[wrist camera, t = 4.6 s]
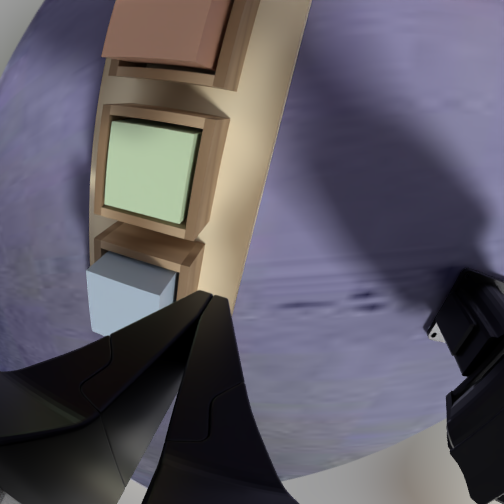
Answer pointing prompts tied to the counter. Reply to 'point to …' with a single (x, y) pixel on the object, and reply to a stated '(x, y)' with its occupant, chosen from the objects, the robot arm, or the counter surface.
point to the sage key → (152, 167)
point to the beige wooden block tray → (203, 146)
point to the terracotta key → (168, 32)
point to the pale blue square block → (126, 291)
